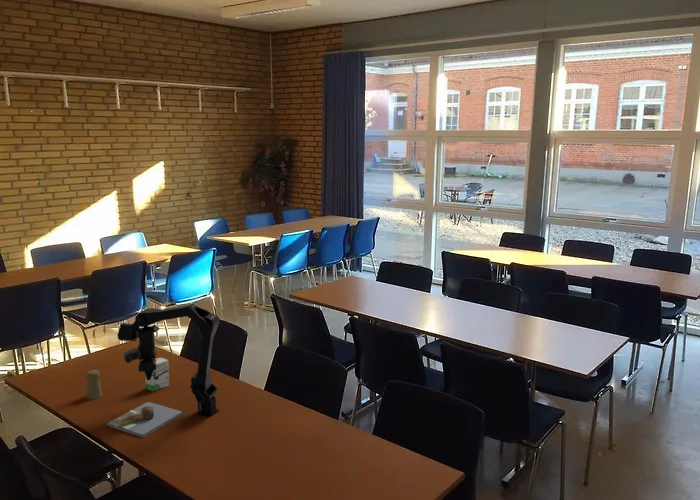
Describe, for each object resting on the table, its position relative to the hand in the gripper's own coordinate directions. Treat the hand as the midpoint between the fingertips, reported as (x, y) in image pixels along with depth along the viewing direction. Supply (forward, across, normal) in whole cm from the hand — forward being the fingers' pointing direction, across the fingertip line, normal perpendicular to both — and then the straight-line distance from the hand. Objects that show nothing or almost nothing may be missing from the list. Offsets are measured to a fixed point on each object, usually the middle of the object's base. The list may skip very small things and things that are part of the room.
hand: (148, 379), depth 223 cm
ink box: (+12, -20, +3) cm, 24 cm away
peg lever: (+10, +12, -5) cm, 17 cm away
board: (+12, +10, -1) cm, 16 cm away
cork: (+12, -18, -22) cm, 31 cm away
